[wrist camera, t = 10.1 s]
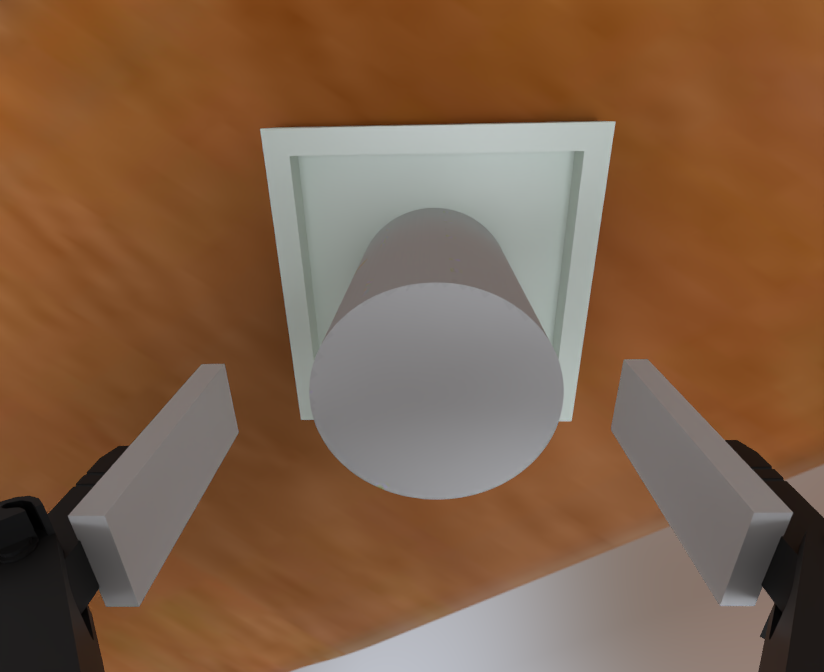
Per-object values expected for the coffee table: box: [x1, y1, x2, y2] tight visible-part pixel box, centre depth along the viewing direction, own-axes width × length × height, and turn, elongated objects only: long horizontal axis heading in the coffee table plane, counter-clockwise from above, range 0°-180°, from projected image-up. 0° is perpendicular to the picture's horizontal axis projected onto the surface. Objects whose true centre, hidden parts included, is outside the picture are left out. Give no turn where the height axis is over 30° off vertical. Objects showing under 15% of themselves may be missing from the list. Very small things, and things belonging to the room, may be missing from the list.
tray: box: [260, 121, 615, 421], centre depth 26 cm, size 16×16×2 cm
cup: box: [309, 208, 564, 499], centre depth 21 cm, size 8×8×12 cm
